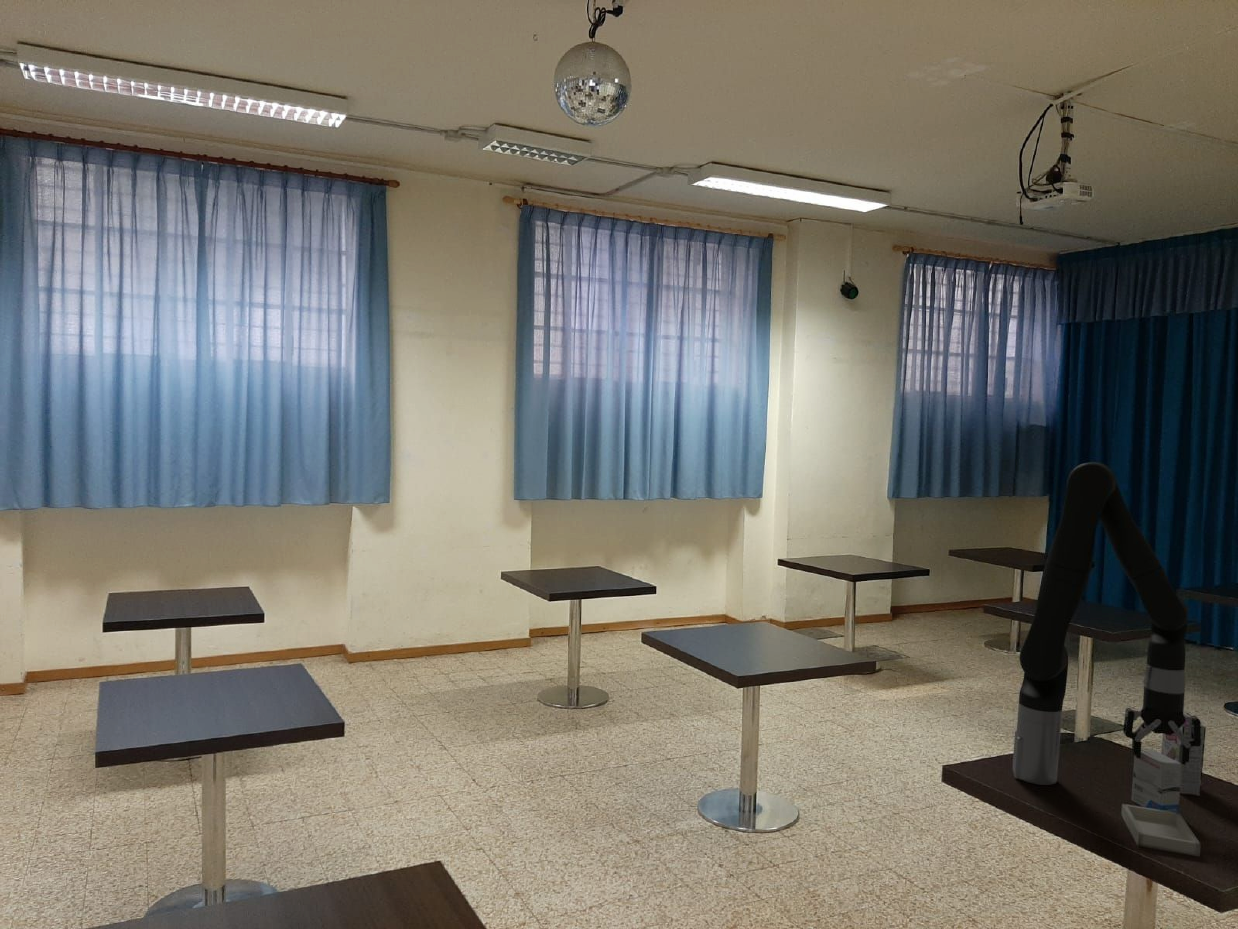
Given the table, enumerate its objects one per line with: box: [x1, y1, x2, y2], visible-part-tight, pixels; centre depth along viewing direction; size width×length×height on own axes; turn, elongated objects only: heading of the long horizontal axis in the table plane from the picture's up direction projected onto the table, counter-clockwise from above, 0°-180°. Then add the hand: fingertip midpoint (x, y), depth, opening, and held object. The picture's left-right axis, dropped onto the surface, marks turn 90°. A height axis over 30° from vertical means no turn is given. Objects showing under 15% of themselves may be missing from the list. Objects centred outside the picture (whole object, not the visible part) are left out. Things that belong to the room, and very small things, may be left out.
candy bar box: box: [1160, 710, 1207, 797], centre depth 205 cm, size 11×5×16 cm, turn 168°
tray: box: [1120, 803, 1202, 857], centre depth 180 cm, size 11×15×2 cm
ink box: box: [1131, 748, 1181, 814], centre depth 192 cm, size 9×5×12 cm, turn 9°
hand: (1159, 760), depth 192 cm, fingers open, 8 cm apart
